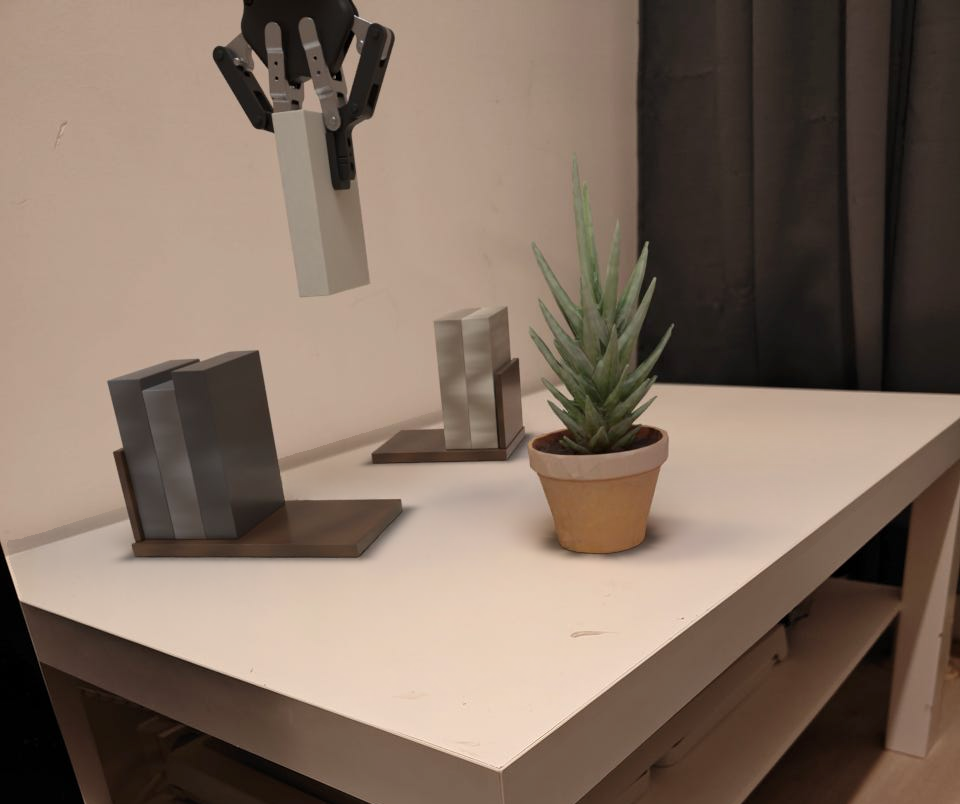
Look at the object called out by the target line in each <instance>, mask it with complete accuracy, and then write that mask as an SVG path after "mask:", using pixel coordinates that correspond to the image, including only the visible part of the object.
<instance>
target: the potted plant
mask: <svg viewBox="0 0 960 804" xmlns="http://www.w3.org/2000/svg"><path fill="white" fill-rule="evenodd" d="M572 155H573V157H572V163H571V164H572V166H571V167H572V169H571V170H572V173H571V175H572V177H571V179H572V180H571V181H572V195H573V199H572V201H573V202H572V203H573V213H574V225H575V231H576V243H577V253H578V260H579V270H580V276H579V306H578V305H576V304H575V303H574V302H573V301H572V299H571V298H570V297H569V295H568V294H567V293H566V291H565V290H564V288H563V287H562V286H561V284H560V282H559V280H558V279H557V277H556V275H555V274H554V272H553V270H552V269H551V266H549V263H548V262H547V260H546V259H545V257H544V255H543V253H542V252H541V251H540V249H539V248H538V246H537V245H536V243H535V242H534V240H531V248H532V251H533V254H534V257H535V260H536V263H537V266H538V267H539V268H540V271H541V273H542V276H543V277H544V279H545V283H546V284H547V285H548V288H549V290H550V292H551V295H552V296H553V299H554V301H555V303H556V305H557V307H558V309H559V312H560V313H561V315H562V316H563V319H564V320H565V322H566V324H567V326H568V327H569V329H570V331H571V333H572V335H573V337H574V339H573V338H572V337H571V336H570V335H569V334H568V333H567V332H566V331H565V330H564V329H563V328H562V326H561V325H560V324H559V323H558V322H557V320H556V318H555V317H554V316H553V315H552V313H551V312H550V311H549V309H548V308H547V306H546V305H545V304H544V302H543V301H542V299H540V298H539V297H537V301H538V306H539V308H540V311H541V313H542V316H543V318H544V320H545V322H546V324H547V326H548V328H549V330H550V332H551V333H552V335H553V337H554V339H553V345H554V346H555V349H556V350H557V352H558V354H559V355H560V357H561V358H560V359H559V361H558V360H557V358H556V357H555V356H554V354H553V353H552V351H551V350H550V348H549V347H548V345H547V344H546V343H545V342H544V340H543V339H542V337H540V336H539V334H538V333H536V331H535V330H534V329H533V328H532V327H531V326H530V325H529V326H528V334H529V336H530V338H531V340H532V341H533V343H534V344H535V346H536V347H537V349H538V351H539V352H540V353H541V355H542V356H543V358H544V359H545V360H546V362H547V364H548V365H549V366H550V368H551V369H552V371H553V372H554V373H555V374H556V376H557V377H558V378H559V379H560V381H561V382H562V383H563V384H564V387H565V388H566V390H567V391H568V393H569V394H570V395H571V397H572V398H573V399H569V398H568V397H567V396H565V394H563V393H562V392H561V391H560V390H559V389H558V388H556V387H555V386H554V385H553V384H551V382H550V381H549V380H547V378H545V377H543V376H542V377H541V378H540V380H541V382H542V383H543V385H544V386H545V388H546V389H547V390H548V391H549V392H550V393H551V394H552V397H554V398H555V399H556V400H557V401H558V402H559V403H560V404H561V406H562V407H563V408H564V409H563V408H562V409H561V408H559V406H557V405H556V404H555V403H554V402H553V401H552V400H549V399H547V400H546V402H547V404H548V406H549V408H551V410H552V412H553V413H554V414H555V415H556V417H557V418H558V419H559V420H560V421H561V423H562V424H563V425H564V426H565V427H566V428H561V429H557V430H553V431H549V432H546V433H542V434H539V435H537V436H535V437H533V438H532V439H530V440H529V441H528V443H527V452H528V461H529V467H530V469H531V470H532V471H534V472H535V473H536V475H537V477H538V478H539V481H540V484H541V487H542V490H543V493H544V495H545V498H546V501H547V505H548V507H549V510H550V513H551V517H552V520H553V524H554V528H555V532H556V536H557V540H558V542H559V544H560V546H561V547H562V548H563V549H566V550H569V551H573V552H577V553H588V554H589V553H590V554H611V553H617V552H623V551H626V550H630V549H634V548H636V547H637V546H638V545H640V544H641V543H642V542H644V541H645V536H646V530H647V523H648V519H649V515H650V511H651V508H652V503H653V500H654V495H655V491H656V488H657V483H658V479H659V475H660V471H661V468H662V466H663V465H664V464H665V462H666V461H667V460H668V458H669V451H670V447H669V446H670V437H669V434H668V431H667V430H665V429H664V428H660V427H658V426H653V425H648V424H642V423H639V424H638V423H636V424H635V423H634V422H635V421H637V419H639V418H640V417H641V416H642V414H643V413H645V412H646V411H647V409H648V408H649V407H650V406H651V404H653V402H654V401H655V400H656V399H657V398H658V395H654V396H653V397H652V398H650V399H649V400H647V401H646V402H645V403H643V404H642V405H641V406H639V407H638V405H639V403H641V402H642V400H643V399H644V398H645V396H646V395H647V394H648V392H649V391H650V389H651V388H652V387H653V385H654V384H655V382H656V380H657V378H658V375H655V374H654V375H653V376H651V378H648V376H649V374H650V372H651V371H652V369H653V367H654V366H655V364H656V363H657V361H658V360H659V358H660V357H661V354H662V353H663V351H664V348H665V347H666V345H667V343H668V341H669V340H670V337H671V336H672V330H673V329H674V327H675V324H674V323H671V324H670V326H669V327H668V329H667V330H666V332H665V333H664V335H663V336H662V338H661V339H660V342H659V343H657V346H656V347H655V348H654V350H653V351H652V352H651V354H650V355H649V356H648V357H647V358H646V359H645V360H643V361H642V362H641V363H640V364H639V365H638V366H637V367H636V368H634V369H633V370H632V371H631V372H629V368H630V366H629V363H630V360H631V357H632V354H633V351H634V349H635V346H636V344H637V341H638V337H639V335H640V332H641V329H642V327H643V323H644V321H645V318H646V315H647V313H648V309H649V306H650V304H651V300H652V297H653V295H654V291H655V288H656V283H657V277H656V276H654V277H653V278H652V280H651V282H650V284H649V286H648V288H647V289H646V292H645V293H644V295H643V298H642V300H641V302H640V304H639V306H638V308H637V309H636V306H637V302H638V300H639V297H640V296H639V295H640V291H641V289H642V285H643V281H644V278H645V273H646V269H647V268H646V267H647V261H648V255H649V249H648V247H649V244H650V242H649V241H645V243H644V245H643V248H642V251H641V253H640V256H639V258H638V260H637V263H636V265H635V267H634V269H633V271H632V273H631V275H630V276H629V277H630V278H629V279H628V281H627V284H626V285H625V287H624V289H623V291H622V293H621V295H620V297H619V299H618V291H619V290H618V289H619V280H620V264H621V239H622V238H621V235H622V234H621V219H620V216H619V217H617V218H616V221H615V222H616V224H615V229H614V231H613V235H612V236H613V237H612V242H611V246H610V253H609V256H608V261H607V266H606V271H605V272H606V273H605V277H604V282H603V286H602V279H601V270H600V262H599V261H600V260H599V254H598V250H597V246H596V238H595V237H596V236H595V231H594V229H595V228H594V222H593V215H592V207H591V200H590V194H589V190H588V185H587V181H586V180H584V181H583V183H582V189H581V183H580V174H579V165H578V162H577V154H576V151H573V154H572ZM581 190H582V192H581ZM635 309H636V312H635ZM634 312H635V314H634ZM633 315H634V316H633ZM628 372H629V373H628ZM637 407H638V408H637Z"/></svg>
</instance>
